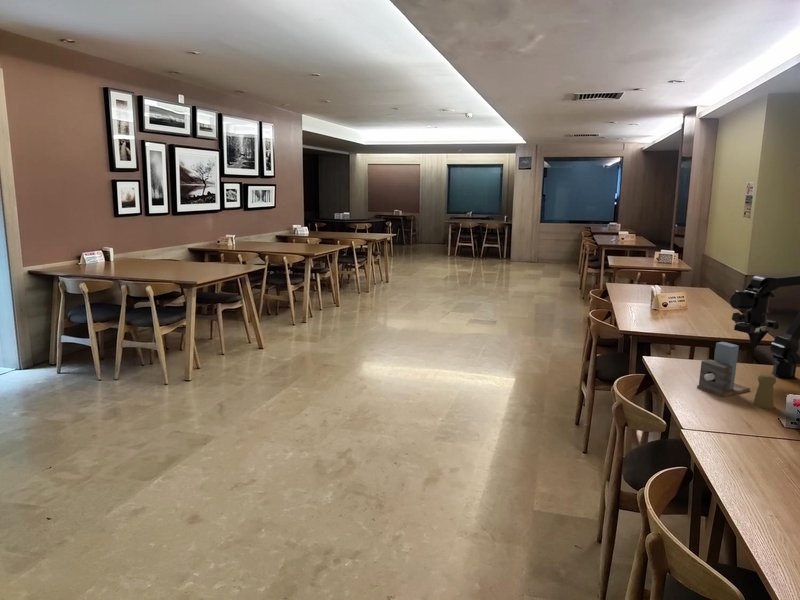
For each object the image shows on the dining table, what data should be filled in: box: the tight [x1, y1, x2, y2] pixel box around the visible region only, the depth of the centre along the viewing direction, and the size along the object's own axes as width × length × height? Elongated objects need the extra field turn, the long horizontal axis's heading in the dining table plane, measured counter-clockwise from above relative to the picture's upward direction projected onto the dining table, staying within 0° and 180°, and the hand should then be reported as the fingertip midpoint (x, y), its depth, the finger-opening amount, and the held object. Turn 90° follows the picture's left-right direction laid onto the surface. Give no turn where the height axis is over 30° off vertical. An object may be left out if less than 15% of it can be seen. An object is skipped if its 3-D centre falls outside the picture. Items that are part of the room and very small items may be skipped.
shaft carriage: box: [704, 341, 740, 389], centre depth 207 cm, size 11×6×16 cm, turn 116°
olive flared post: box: [752, 373, 777, 410], centre depth 194 cm, size 6×6×11 cm
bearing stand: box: [696, 359, 751, 398], centre depth 209 cm, size 16×10×11 cm, turn 116°
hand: (753, 347), depth 222 cm, fingers closed
